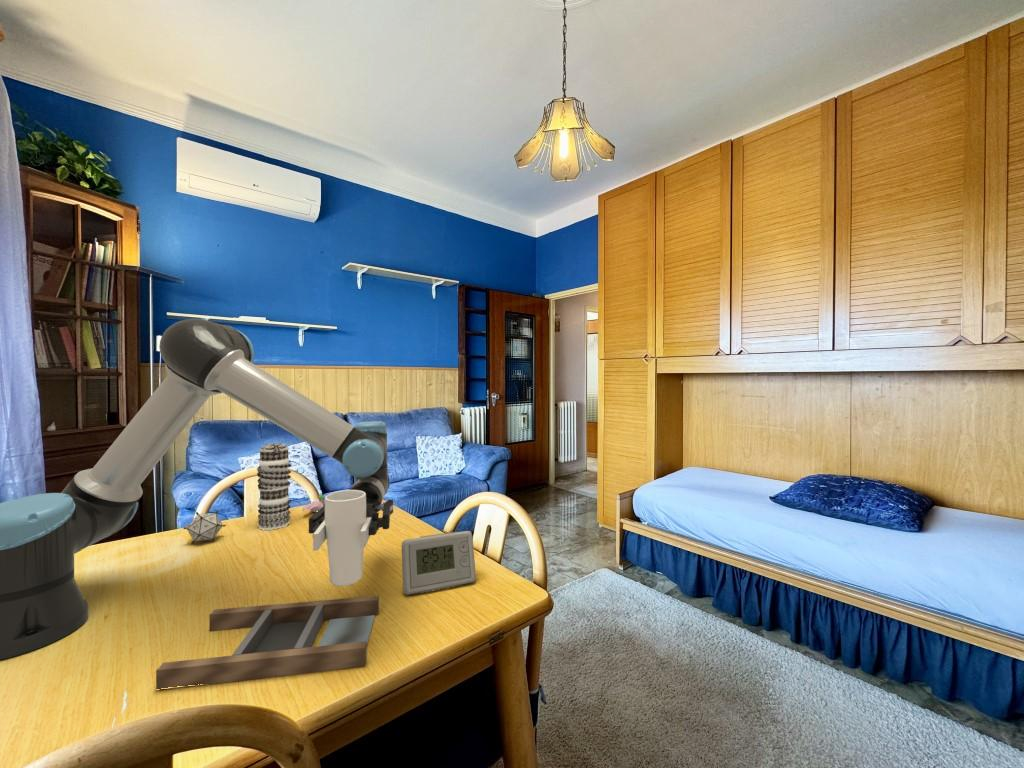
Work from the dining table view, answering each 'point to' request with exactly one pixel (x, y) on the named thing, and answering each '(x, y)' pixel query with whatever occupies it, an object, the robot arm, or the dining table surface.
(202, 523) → the game die
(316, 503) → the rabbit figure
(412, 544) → the digital clock
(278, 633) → the tray
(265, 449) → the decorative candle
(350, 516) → the drinking glass
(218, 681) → the brown wooden divided tray
